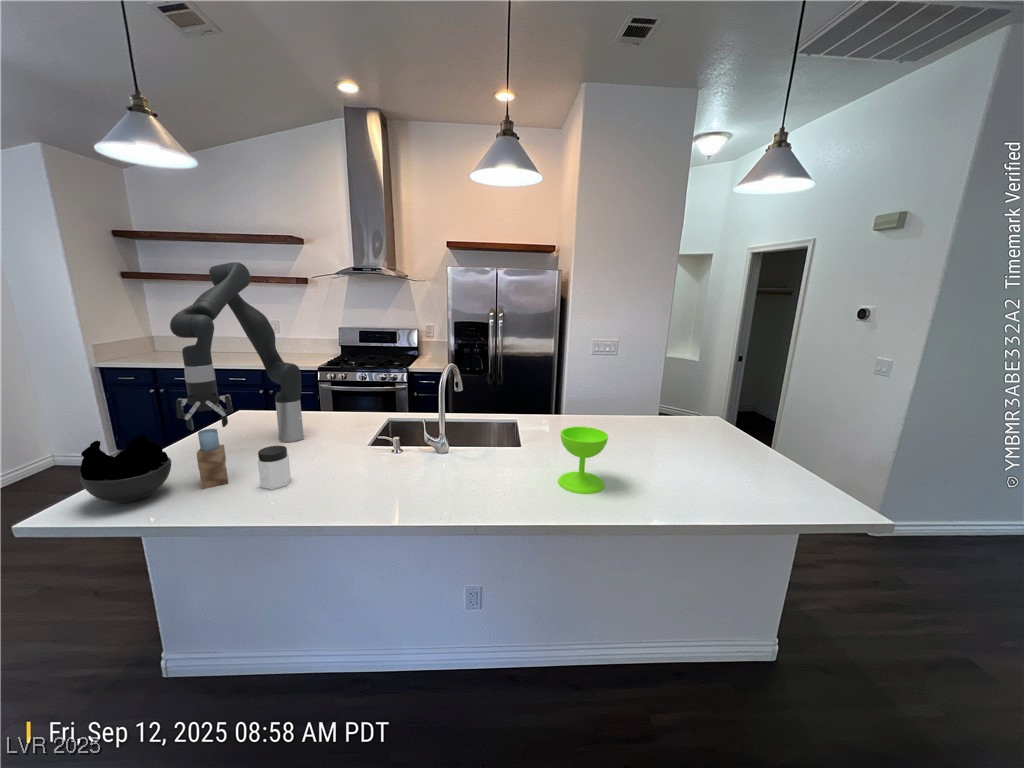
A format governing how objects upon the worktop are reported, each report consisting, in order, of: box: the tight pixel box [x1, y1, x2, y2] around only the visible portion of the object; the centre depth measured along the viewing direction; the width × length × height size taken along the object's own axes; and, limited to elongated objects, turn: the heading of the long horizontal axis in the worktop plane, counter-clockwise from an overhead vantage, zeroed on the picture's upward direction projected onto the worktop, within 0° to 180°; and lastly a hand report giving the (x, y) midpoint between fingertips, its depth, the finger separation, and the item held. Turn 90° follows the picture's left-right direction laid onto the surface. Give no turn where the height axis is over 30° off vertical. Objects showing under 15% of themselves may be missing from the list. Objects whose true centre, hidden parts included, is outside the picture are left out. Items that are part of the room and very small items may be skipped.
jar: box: [257, 445, 292, 491], centre depth 135 cm, size 9×8×12 cm
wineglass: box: [557, 426, 609, 495], centre depth 141 cm, size 16×16×18 cm
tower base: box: [198, 462, 229, 490], centre depth 136 cm, size 7×7×6 cm
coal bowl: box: [79, 434, 172, 504], centre depth 123 cm, size 20×20×19 cm
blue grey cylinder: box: [197, 428, 220, 452], centre depth 133 cm, size 5×5×6 cm
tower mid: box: [196, 444, 227, 471], centre depth 135 cm, size 6×6×6 cm
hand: (208, 428), depth 132 cm, fingers open, 8 cm apart
